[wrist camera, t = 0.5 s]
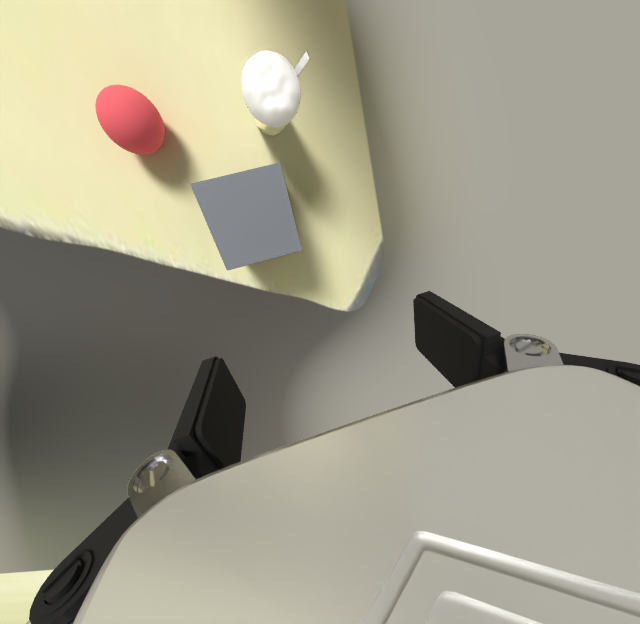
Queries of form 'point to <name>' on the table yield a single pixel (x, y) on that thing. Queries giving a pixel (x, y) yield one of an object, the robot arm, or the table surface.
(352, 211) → the table surface
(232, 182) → the grey cube
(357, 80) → the table surface
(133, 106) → the ball
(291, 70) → the milkshake
